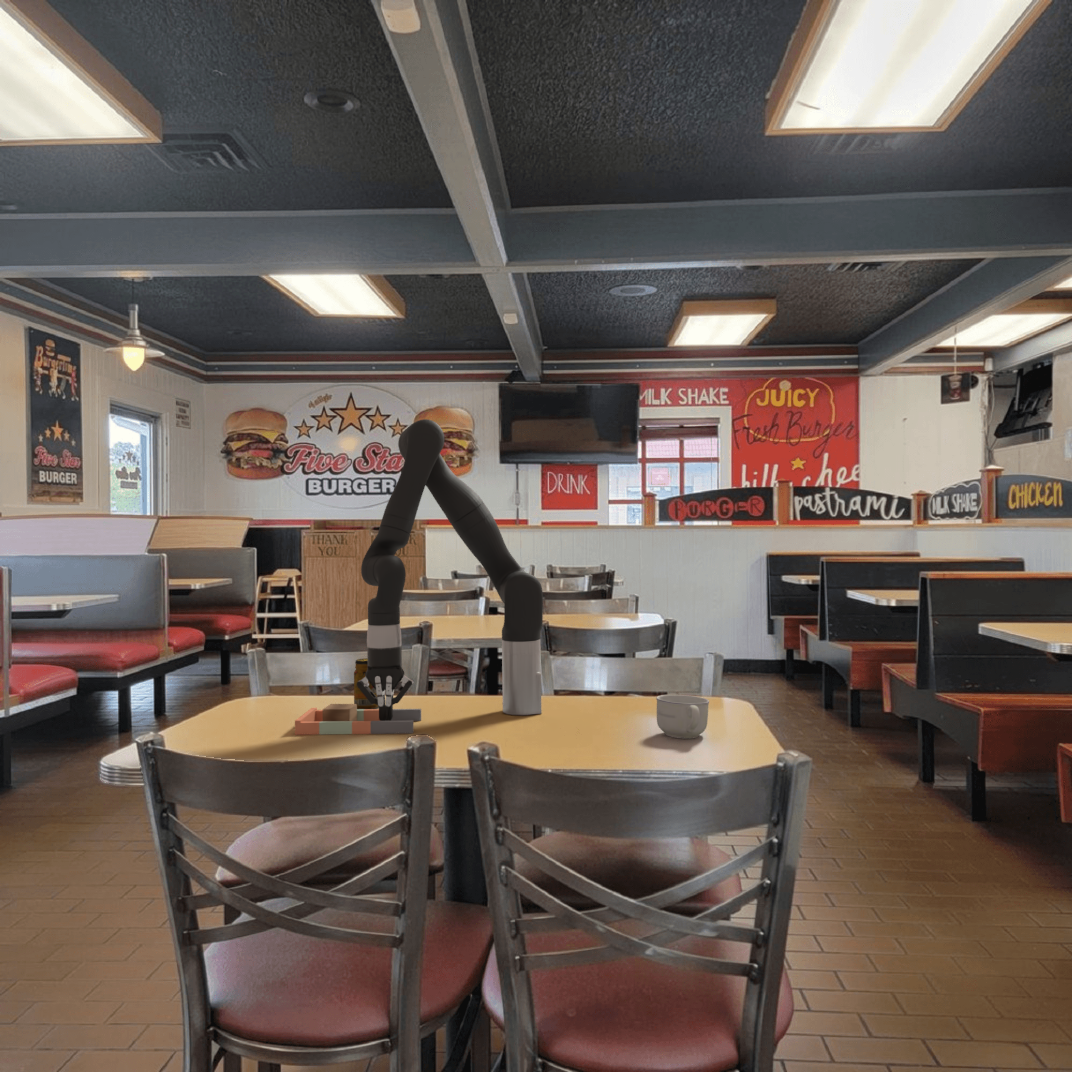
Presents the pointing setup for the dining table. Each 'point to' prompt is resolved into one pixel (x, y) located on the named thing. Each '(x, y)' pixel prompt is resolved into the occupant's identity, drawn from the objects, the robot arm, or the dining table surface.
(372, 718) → the tray
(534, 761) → the dining table surface
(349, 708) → the block
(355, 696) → the condiment
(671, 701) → the teacup
